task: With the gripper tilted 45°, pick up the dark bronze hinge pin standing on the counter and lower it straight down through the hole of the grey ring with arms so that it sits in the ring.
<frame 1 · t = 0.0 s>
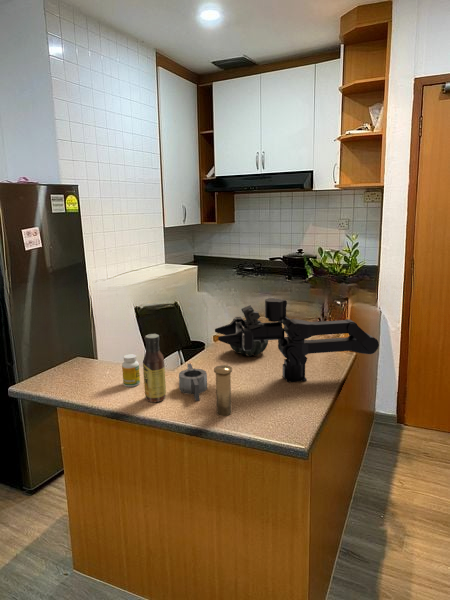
hand: (216, 334, 139), 17 cm above the countertop, tool horizontal, fingers open, 9 cm apart
sauce bottle: (155, 399, 132), on the countertop
hinge pin: (224, 412, 122), on the countertop
grey ring with arms: (193, 388, 139), on the countertop
supplement bottle: (131, 384, 144), on the countertop
squash: (249, 353, 171), on the countertop
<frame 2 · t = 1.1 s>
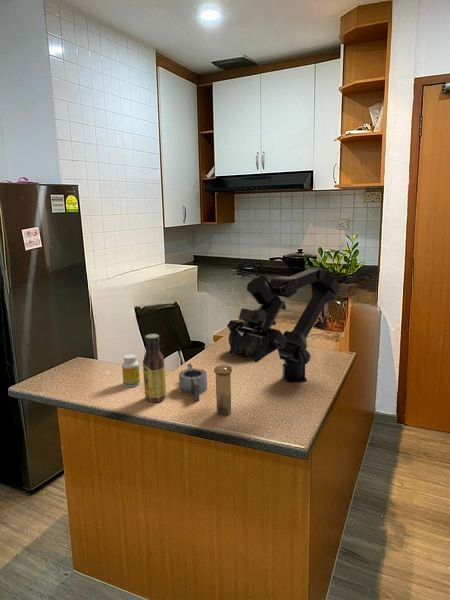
hand: (242, 358, 125), 14 cm above the countertop, tool tilted 45°, fingers open, 9 cm apart
nothing on the countertop moved.
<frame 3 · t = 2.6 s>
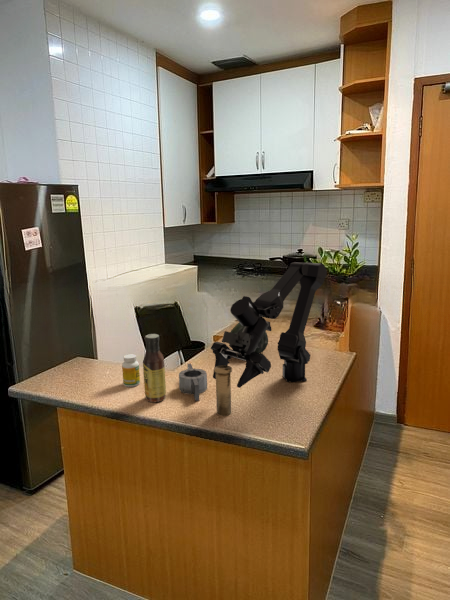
hand: (225, 382, 121), 9 cm above the countertop, tool tilted 45°, fingers open, 9 cm apart
nothing on the countertop moved.
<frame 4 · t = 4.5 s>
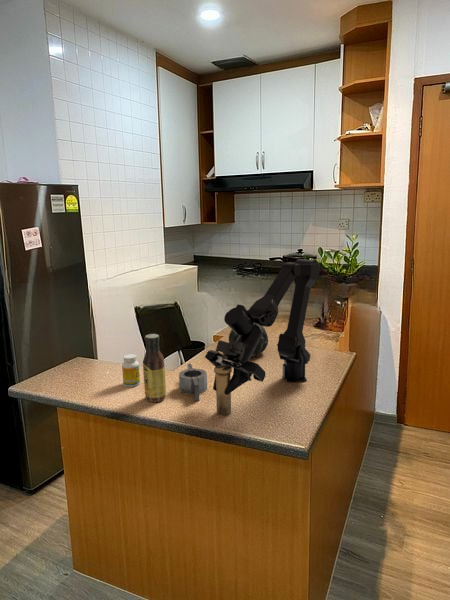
hand: (219, 392, 120), 7 cm above the countertop, tool tilted 45°, fingers closed on hinge pin, 4 cm apart
hinge pin: (224, 412, 122), on the countertop, touching gripper
everything else where it was.
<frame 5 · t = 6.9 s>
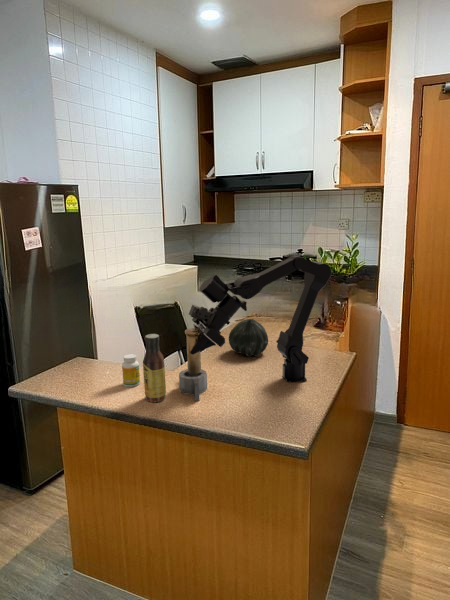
hand: (189, 351, 133), 13 cm above the countertop, tool tilted 45°, fingers closed on hinge pin, 4 cm apart
hinge pin: (194, 371, 135), point 7 cm above the countertop, touching gripper
everything else where it was.
when the fingers open (8 cm above the countertop, at t = 9.3 s): hinge pin drops 1 cm, resting in grey ring with arms.
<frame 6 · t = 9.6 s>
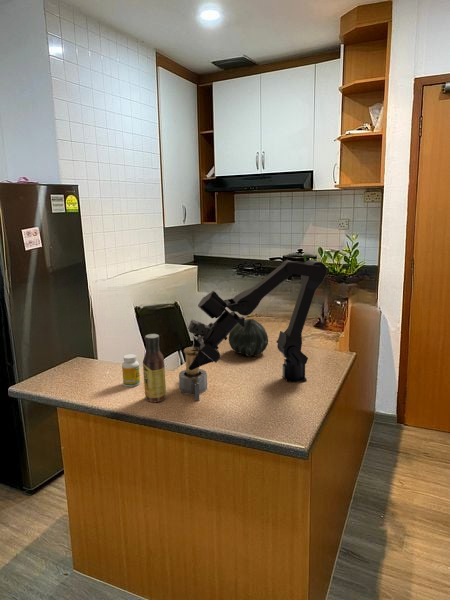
hand: (187, 364, 137), 8 cm above the countertop, tool tilted 45°, fingers open, 8 cm apart
hinge pin: (193, 388, 139), resting in grey ring with arms
everything else where it was.
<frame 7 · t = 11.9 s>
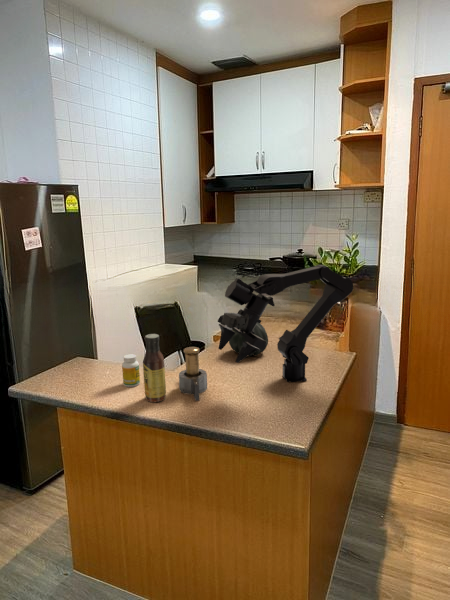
hand: (227, 355, 137), 10 cm above the countertop, tool tilted 30°, fingers open, 9 cm apart
nothing on the countertop moved.
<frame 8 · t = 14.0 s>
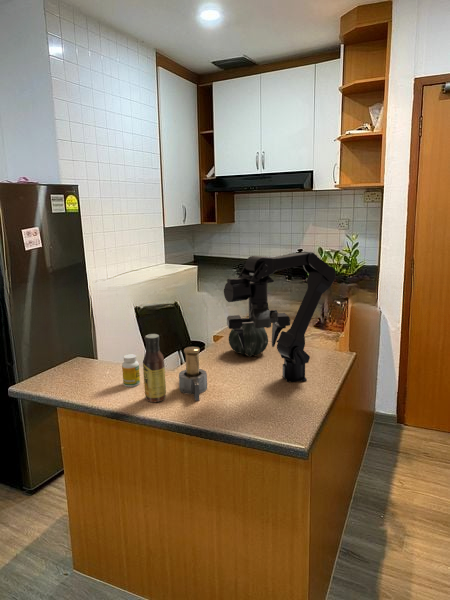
hand: (258, 347, 136), 13 cm above the countertop, tool pointing down, fingers open, 9 cm apart
nothing on the countertop moved.
at the end: hinge pin 0.0 cm off-centre on the grey ring with arms, point 0.0 cm above the grey ring with arms's base; hinge pin tilted 0°; the gripper is holding nothing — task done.
